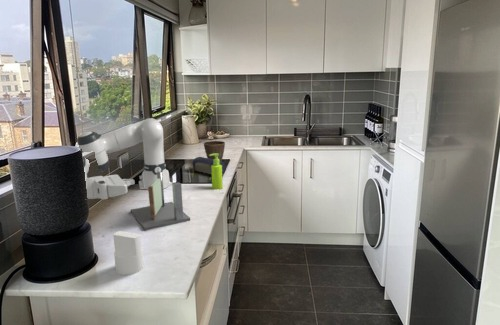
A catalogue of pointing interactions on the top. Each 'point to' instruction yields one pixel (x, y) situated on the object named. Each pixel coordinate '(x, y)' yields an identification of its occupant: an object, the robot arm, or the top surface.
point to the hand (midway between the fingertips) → (133, 181)
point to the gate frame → (163, 210)
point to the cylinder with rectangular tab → (128, 253)
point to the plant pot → (214, 149)
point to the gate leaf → (155, 198)
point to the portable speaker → (206, 165)
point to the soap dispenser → (216, 173)
